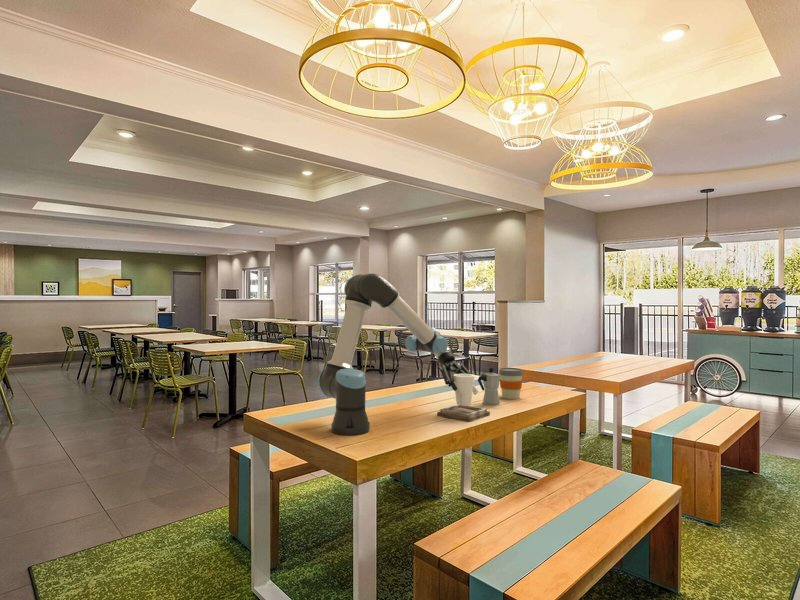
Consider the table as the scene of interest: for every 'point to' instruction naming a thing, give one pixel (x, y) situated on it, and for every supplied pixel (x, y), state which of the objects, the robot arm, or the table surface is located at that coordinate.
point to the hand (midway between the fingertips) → (469, 394)
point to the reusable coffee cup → (510, 382)
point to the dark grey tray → (463, 412)
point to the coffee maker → (490, 387)
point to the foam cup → (464, 388)
